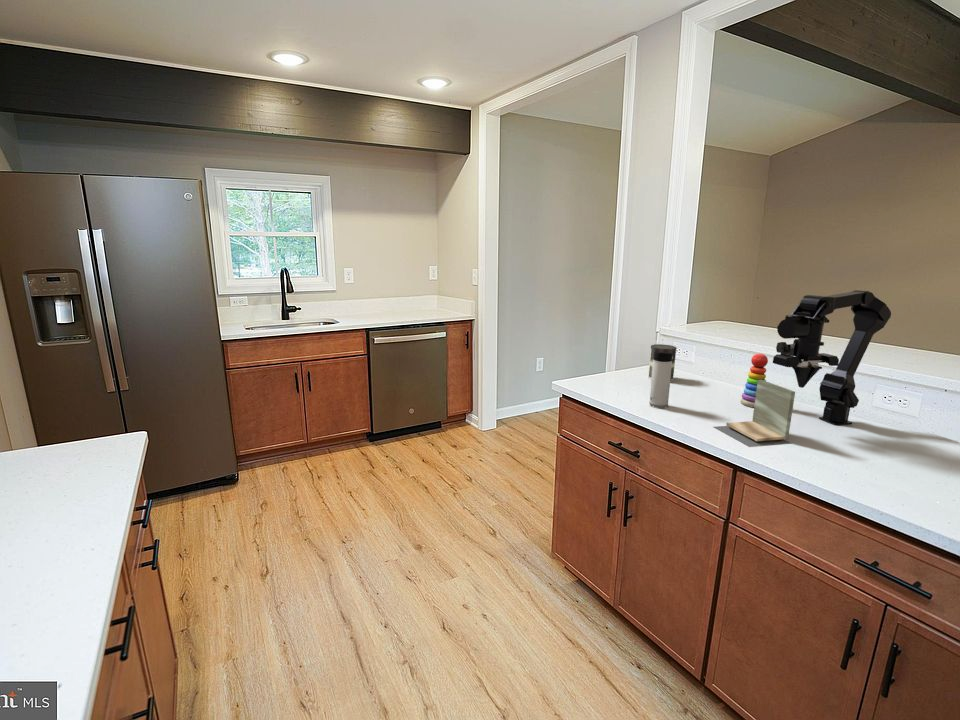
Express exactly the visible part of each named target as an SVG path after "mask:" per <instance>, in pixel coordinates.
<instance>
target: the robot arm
mask: <svg viewBox="0 0 960 720" xmlns="http://www.w3.org/2000/svg"><path fill="white" fill-rule="evenodd" d="M849 307H850V310H851V312H852V313H853V314H854V316H853V318H852V322H853V325H854V330H853V333H852V334H851V337H850V338H849V341H848V342H847V345H846V347H845V350H844V352H843V354H842V356H841V358H840V359H839V358H838V355H834V354H830V353H829V354H828V353H824V352H823V353H822V352H821V353H820V348H821V346H822V347H824V346H825V342H824V341H822V337H823V333H824V332H823V331H824V326H825V325H824V324H829V323H830V319H828V318H827V317H826V316H828V315H830V314H832V313H834V311H835V310H839V309H844V308H849ZM784 317H785V318H784V319H783V320H780V322H779V323H778V325H777V326H776V327H777V328H776V330H777V334H778V336H779V337H781V338H782V339H793V343H790V344H787V342H786V341H781V342H780V341H779V342H777V343H776V347H775V349H776V352H777V353H778V354H775V355H774V356H773V359H772V364H774V365H778V366H780V367H781V366H782V367H785V368H792V369H793V370H794V375H795V378H796V382H797V385H798V386H797V387H798V388H802V389H804V387H805V386H806V385H807V384H808V383H809V382H810V380H812V378H813V376H815V375H816V374H817V373H818V372H819V371H820V370H822V369H823V367H822V366H820V363H821V364H822V363H823V364H824V363H825V364H828V366H830V367H836V369H835V370H834V371H833V372H831V373H827V372H826V373H825V374H824V376H823V378H822V381H821V382H820V383H819V397H820V401H825V406H824V407H823V413H822V416H819V417H818V419H819V420H821V421H823V422H827V423H829V424H831V425H834V426H835V425H836V426H839V425H840V426H841V425H842V426H843V425H852V424H853V421H850V420H849V414H850V410H851V409H854V408H856V407H857V406H858V405H859V401H860V399H859V398H858V396H857V395H856V393H855V392H854V391H855V388H856V382H855V378H854V376H855V374H856V372H857V370H858V368H859V365H860V364H861V362H862V359H863V357H864V355H865V353H866V351H867V349H868V347H869V345H870V342H871V340H872V338H873V337H874V335H875V334H876V333H878V332H879V331H880V330H882V329H884V328H885V326H886V324H888V321H889V320H890V319H891V317H892V311H891V309H890V308H889V307H888V305H887V304H886V303H885V302H884V301H882V300H881V299H879V298H878V297H877V296H875V294H874V293H873V292H871V291H869V290H858V289H856V290H852V291H847V292H842V293H837V294H831V295H830V294H829V295H816V294H815V295H814V294H806V295H803V297H802V299H800V301H799V302H798V304H797V305H796V307H795V308H794V309H793V311H792V312H791V314H790V315H789V314H788V315H785V316H784ZM779 353H780V354H779Z"/></svg>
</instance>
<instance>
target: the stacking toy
mask: <svg viewBox="0 0 960 720" xmlns="http://www.w3.org/2000/svg"><path fill="white" fill-rule="evenodd" d="M750 361H751V364H752V366H751V367H749V372H748V374H747V376H748V377H747V378H746V382H745V385H744V386H745V387H744V389H743V393H742V394H741V398H740V402H739V403H740V404H742V405H743V406H746V407H749V408H754V405H755V398H756V390H757V383H758V380H764V381H766V382H767V380H766V378H767V375H766V373H767V368H766V366H767V364H768V362H769V358H768V357H767V355H765V354H763V353H756V354H754V355H752V357H751V360H750Z"/></svg>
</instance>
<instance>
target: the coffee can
mask: <svg viewBox="0 0 960 720" xmlns="http://www.w3.org/2000/svg"><path fill="white" fill-rule="evenodd" d="M677 349H678V348H677V347H676V346H674V345H671V344H670V345H669V344H662V343H661V344H660V343H657V344H651V345H650V355H649V367H648V377H649V378H650V379H649V378H648V379H649V380H651V378H652V366H653V357H654V352H655V351H658V352H670V353H673V355H672V368H671V378H670V380H672V381H674V374H675V363H676V362H675V361H676V354H677Z"/></svg>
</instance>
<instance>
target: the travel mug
mask: <svg viewBox="0 0 960 720" xmlns="http://www.w3.org/2000/svg"><path fill="white" fill-rule="evenodd" d="M672 355H673V353H670V352H658V351H655V352H654V357H653V366H652V378H651V379H650V380H651V381H650V390H649V391H650V392H649V401H648V402H649V404H650V405H651V406H650V405H649V406H650V407H652V406H654V407H653V408H655V407H658V408H657V409H666V408H668V407H669V398H670V385H671V381H670V378H671V368H672ZM665 407H666V408H665Z"/></svg>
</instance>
